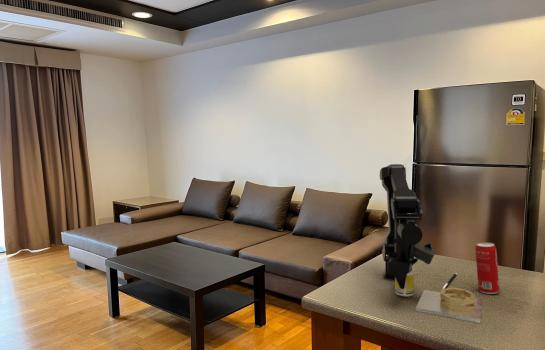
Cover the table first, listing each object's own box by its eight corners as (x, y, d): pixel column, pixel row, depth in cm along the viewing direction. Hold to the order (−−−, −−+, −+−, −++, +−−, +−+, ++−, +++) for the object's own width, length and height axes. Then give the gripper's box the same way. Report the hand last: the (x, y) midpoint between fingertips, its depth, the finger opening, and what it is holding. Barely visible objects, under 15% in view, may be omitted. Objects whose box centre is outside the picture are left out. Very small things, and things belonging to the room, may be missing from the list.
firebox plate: (415, 310, 109) (416, 296, 109) (424, 292, 121) (424, 279, 121) (480, 323, 101) (480, 307, 101) (482, 302, 113) (482, 288, 113)
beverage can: (502, 295, 118) (502, 246, 116) (478, 294, 119) (478, 246, 118) (495, 287, 124) (495, 241, 122) (473, 287, 125) (473, 241, 124)
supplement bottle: (413, 290, 121) (413, 260, 120) (413, 297, 116) (414, 266, 115) (395, 289, 123) (395, 258, 122) (394, 295, 118) (394, 264, 117)
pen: (440, 292, 122) (440, 288, 122) (455, 274, 137) (455, 271, 137) (443, 293, 122) (443, 289, 122) (457, 274, 137) (458, 271, 137)
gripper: (428, 246, 106) (427, 302, 107) (437, 231, 122) (436, 279, 123) (386, 242, 111) (386, 294, 113) (400, 227, 127) (400, 274, 129)
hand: (404, 285), depth 119 cm, fingers closed on supplement bottle, 5 cm apart
